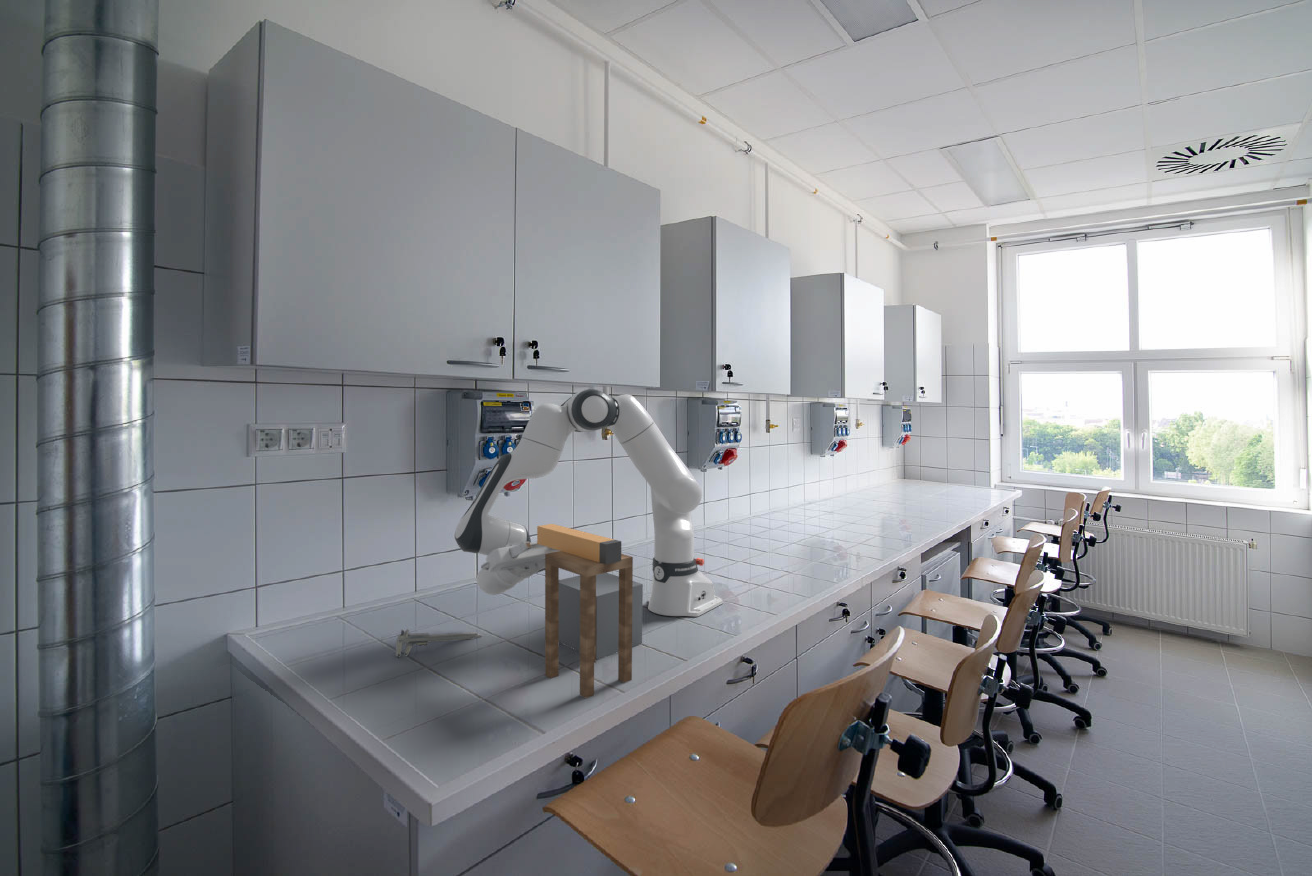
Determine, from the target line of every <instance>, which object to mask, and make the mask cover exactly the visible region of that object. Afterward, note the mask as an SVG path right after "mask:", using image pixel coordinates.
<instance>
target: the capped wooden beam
mask: <svg viewBox="0 0 1312 876" xmlns="http://www.w3.org/2000/svg"><path fill="white" fill-rule="evenodd" d="M536 529H537V530H536V542H537V544H540V545H543V546H546V547H550V548H553V549H556V550H560V551H563V552H566V553H570V554H573V555H576V556H579V557H583V558H586V559H589V560H593V561H596V562H599V563H603V564H610V563H615V562H619V561H621V554H622V541H621V540H618V539H613V538H611V537H605V536H602V535H599V534H595V533H590V532H586V531H582V530H577V529H573V528H570V527H567V526H562V525H558V524H555V523H548V524H542V525H537V527H536Z"/></svg>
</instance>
